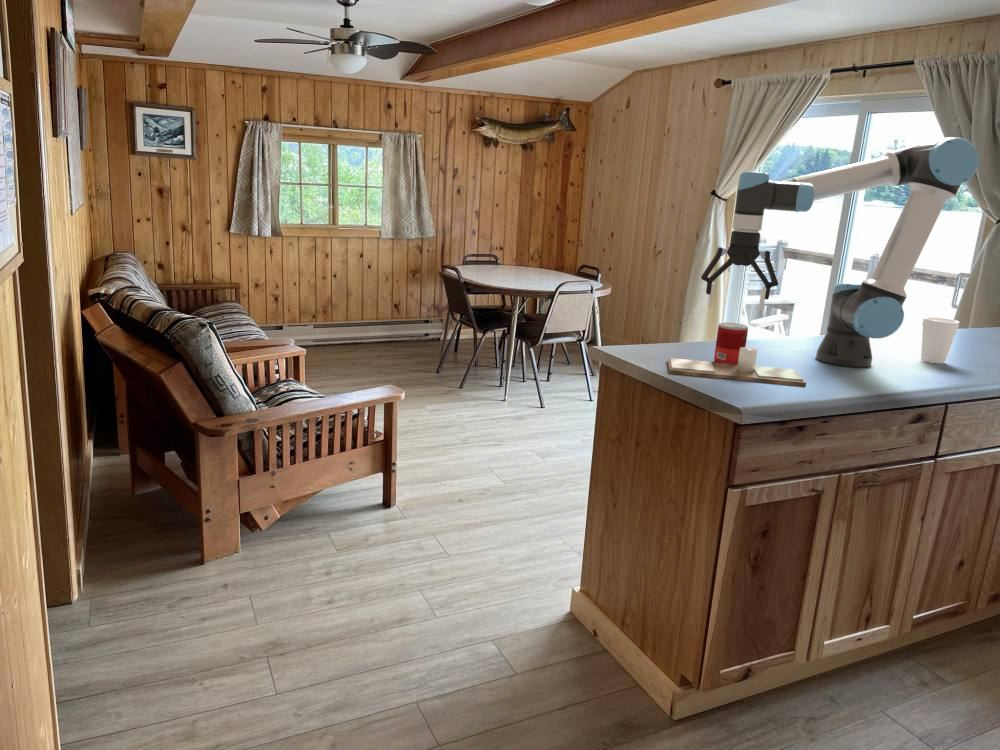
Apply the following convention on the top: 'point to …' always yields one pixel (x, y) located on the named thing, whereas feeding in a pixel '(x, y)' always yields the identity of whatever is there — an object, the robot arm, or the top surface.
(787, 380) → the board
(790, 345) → the top surface
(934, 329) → the foam cup
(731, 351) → the canned food
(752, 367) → the ceramic post
